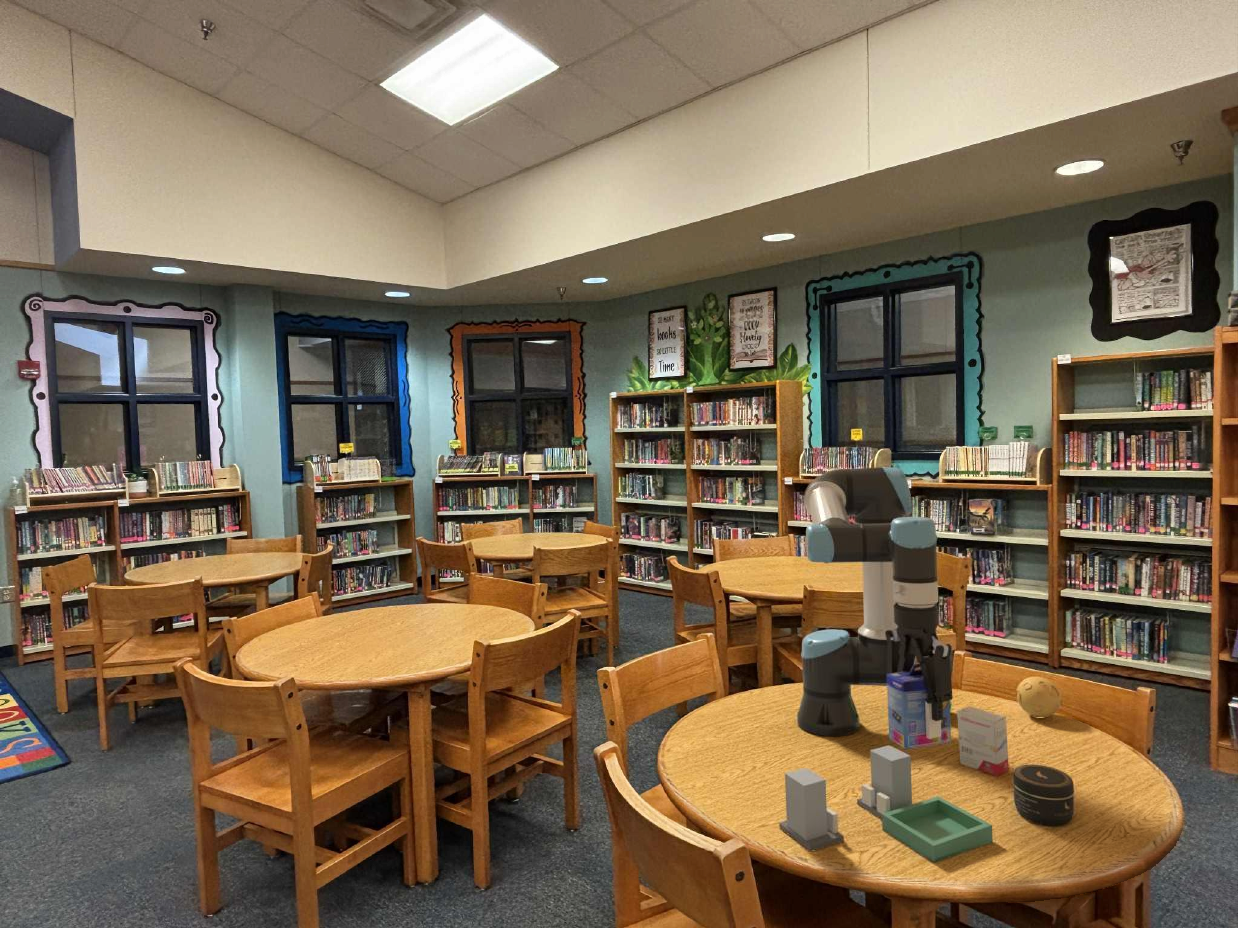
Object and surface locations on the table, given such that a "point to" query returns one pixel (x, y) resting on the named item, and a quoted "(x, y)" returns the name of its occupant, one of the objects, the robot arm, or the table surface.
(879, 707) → the table surface
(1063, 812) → the jar
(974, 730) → the ink box
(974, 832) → the tray
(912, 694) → the ink cartridge box
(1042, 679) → the stress ball
